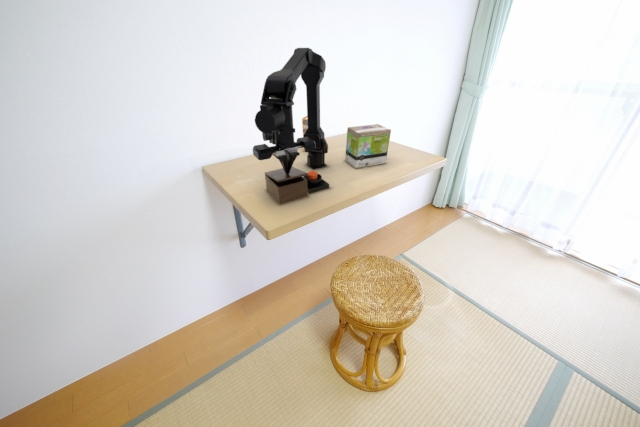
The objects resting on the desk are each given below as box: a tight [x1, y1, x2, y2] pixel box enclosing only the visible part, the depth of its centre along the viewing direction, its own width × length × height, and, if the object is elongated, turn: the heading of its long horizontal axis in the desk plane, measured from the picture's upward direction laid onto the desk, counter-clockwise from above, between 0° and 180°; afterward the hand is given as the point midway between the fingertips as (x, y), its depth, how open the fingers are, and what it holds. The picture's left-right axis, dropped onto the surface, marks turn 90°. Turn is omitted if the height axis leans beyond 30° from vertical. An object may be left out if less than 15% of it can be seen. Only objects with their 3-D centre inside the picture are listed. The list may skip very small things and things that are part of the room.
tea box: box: [344, 123, 392, 169], centre depth 109 cm, size 15×10×15 cm
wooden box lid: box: [264, 166, 308, 182], centre depth 85 cm, size 12×10×1 cm
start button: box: [307, 170, 318, 179], centre depth 92 cm, size 4×4×2 cm
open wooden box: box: [264, 173, 309, 205], centre depth 88 cm, size 12×10×6 cm
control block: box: [302, 173, 330, 195], centre depth 93 cm, size 10×8×4 cm
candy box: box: [301, 115, 308, 152], centre depth 124 cm, size 9×4×15 cm, turn 162°
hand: (287, 173), depth 84 cm, fingers closed
